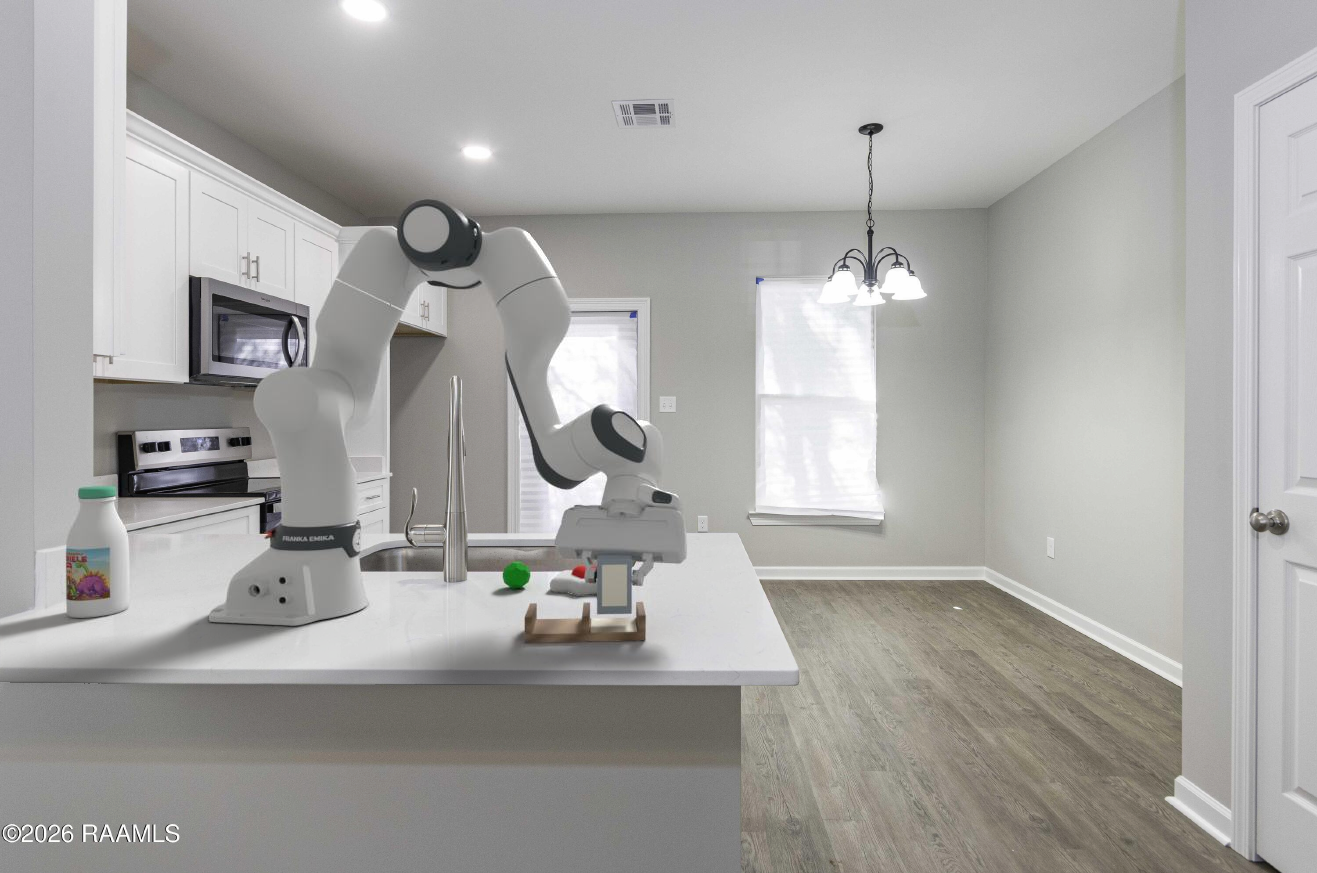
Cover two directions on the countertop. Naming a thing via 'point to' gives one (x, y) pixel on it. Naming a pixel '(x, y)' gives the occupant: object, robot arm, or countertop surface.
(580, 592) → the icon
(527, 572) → the polyhedron
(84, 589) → the milk bottle
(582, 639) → the wooden rack
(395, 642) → the countertop surface
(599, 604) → the frame
